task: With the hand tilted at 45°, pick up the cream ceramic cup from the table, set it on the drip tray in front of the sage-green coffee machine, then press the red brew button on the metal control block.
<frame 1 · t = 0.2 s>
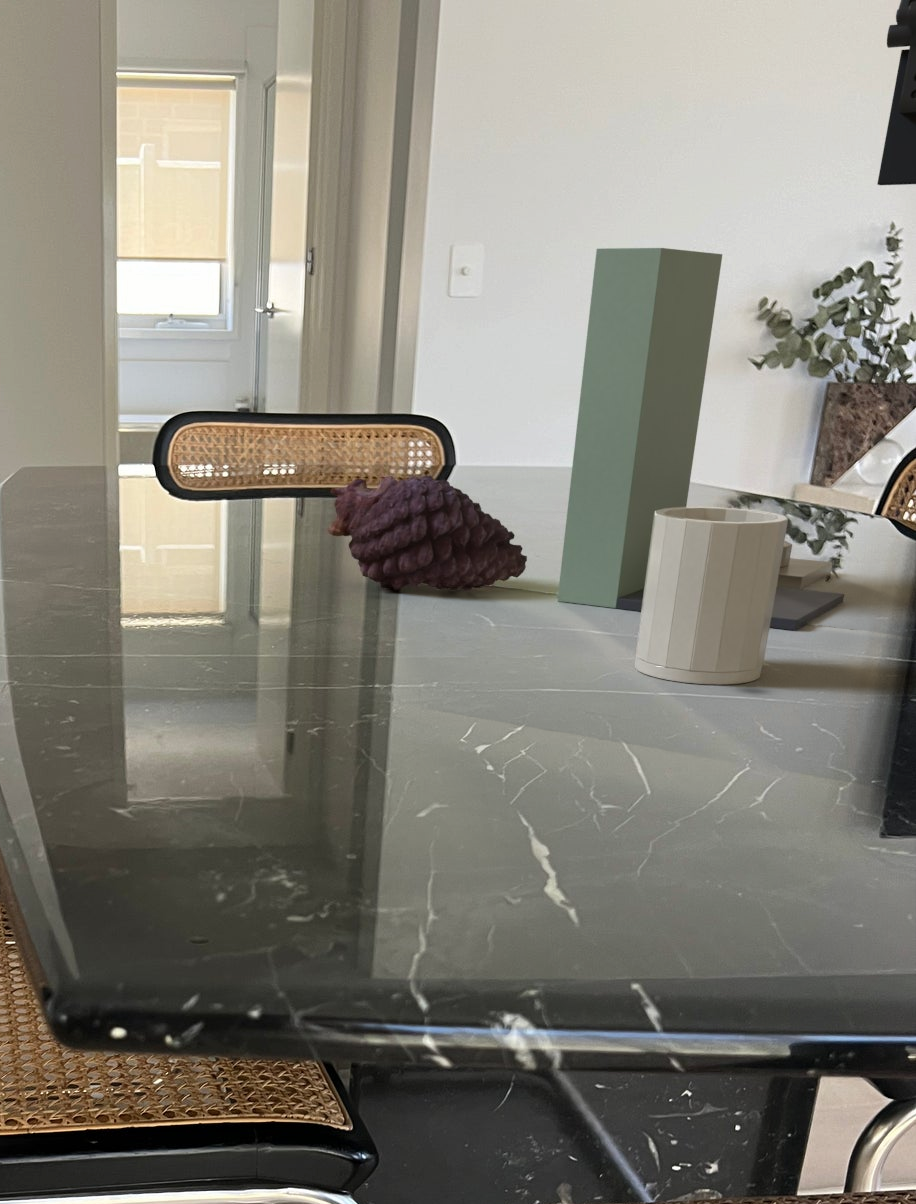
pine cone: (420, 590, 125), on the table
cup: (696, 670, 97), on the table
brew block: (747, 575, 132), on the table
coffee machine: (688, 601, 121), on the table
brew button: (753, 535, 131), point 4 cm above the table, slide at 0.2 cm
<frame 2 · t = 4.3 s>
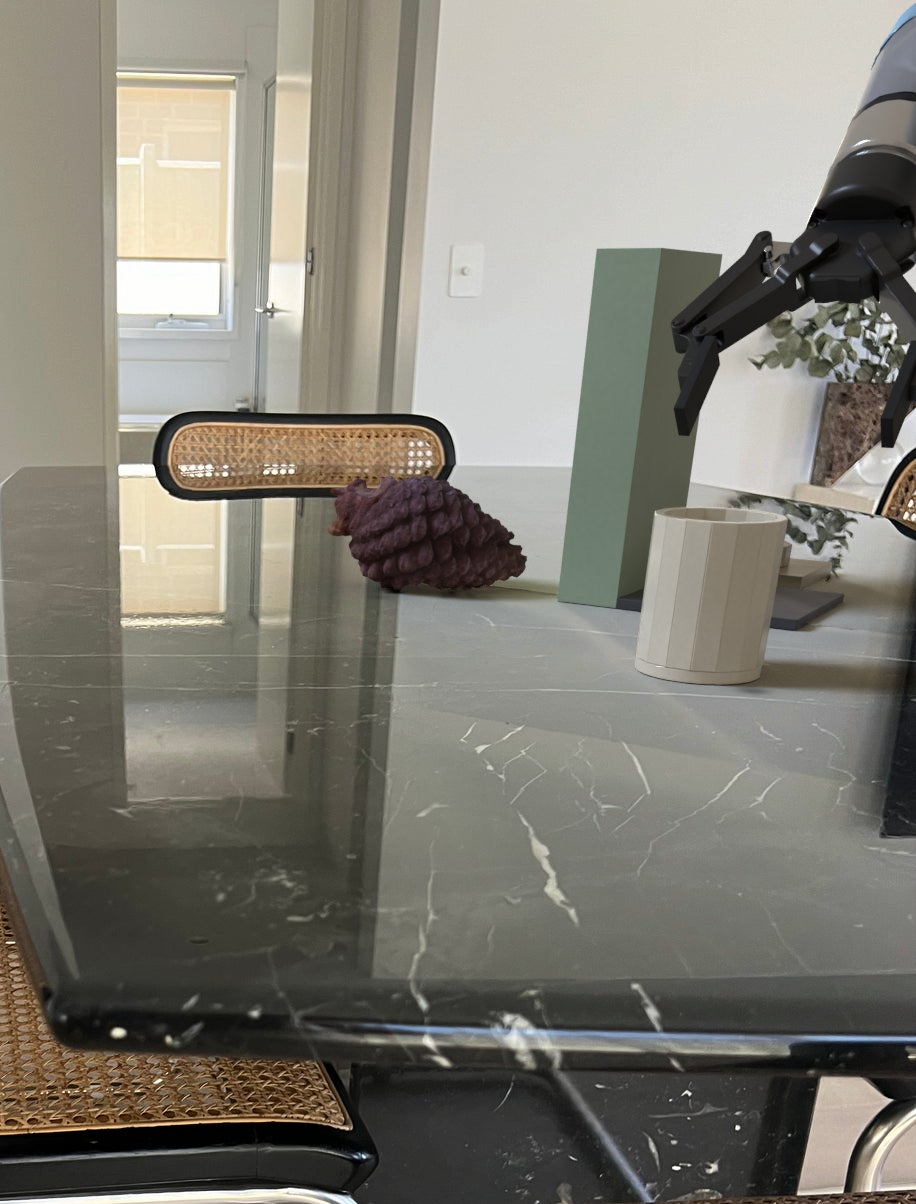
hand: (780, 428, 99), 15 cm above the table, tool tilted 45°, fingers open, 13 cm apart
nothing on the table moved.
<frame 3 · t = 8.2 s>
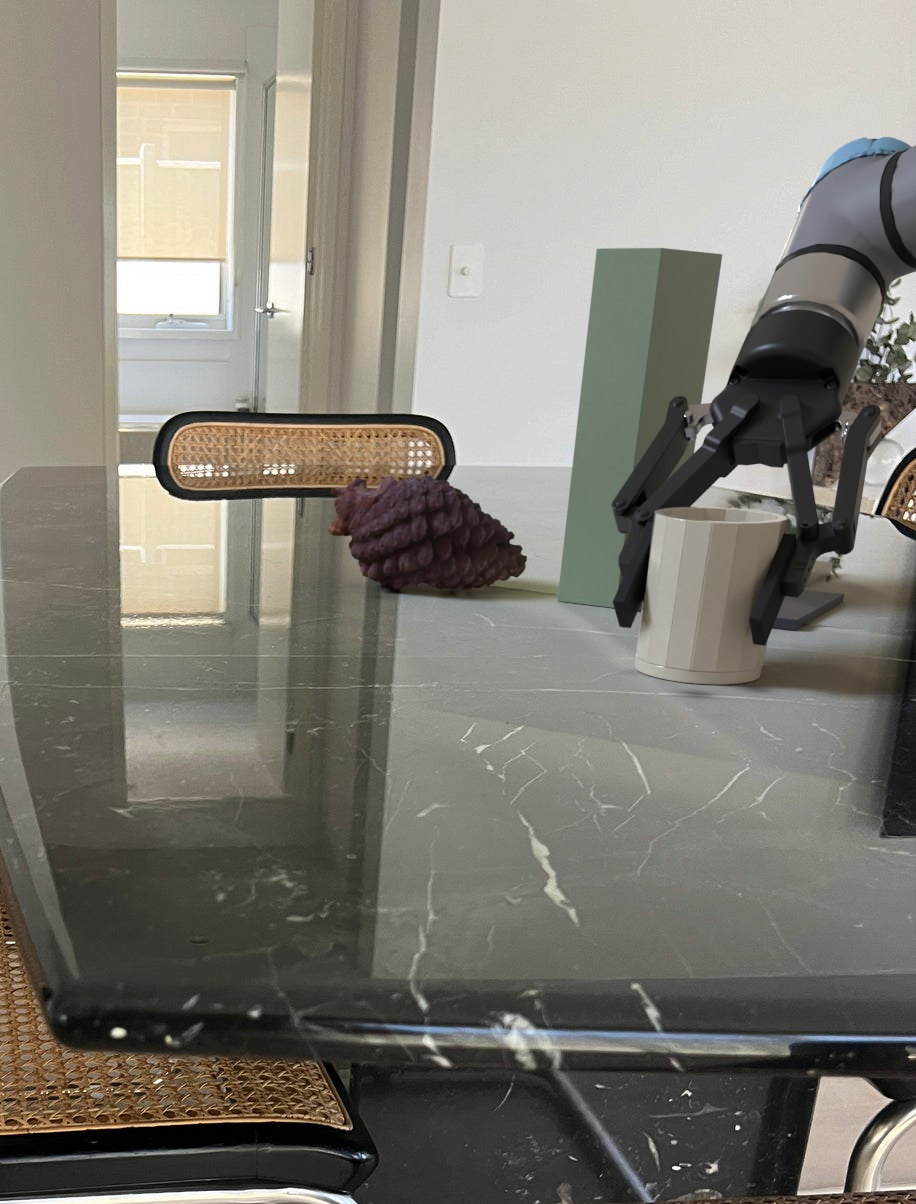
hand: (688, 623, 93), 4 cm above the table, tool tilted 45°, fingers closed on cup, 8 cm apart
cup: (696, 670, 97), on the table, touching gripper
everything else where it was.
when the fingers open (4 cm above the table, at t = 18.0 s): cup stays where it is, resting on coffee machine.
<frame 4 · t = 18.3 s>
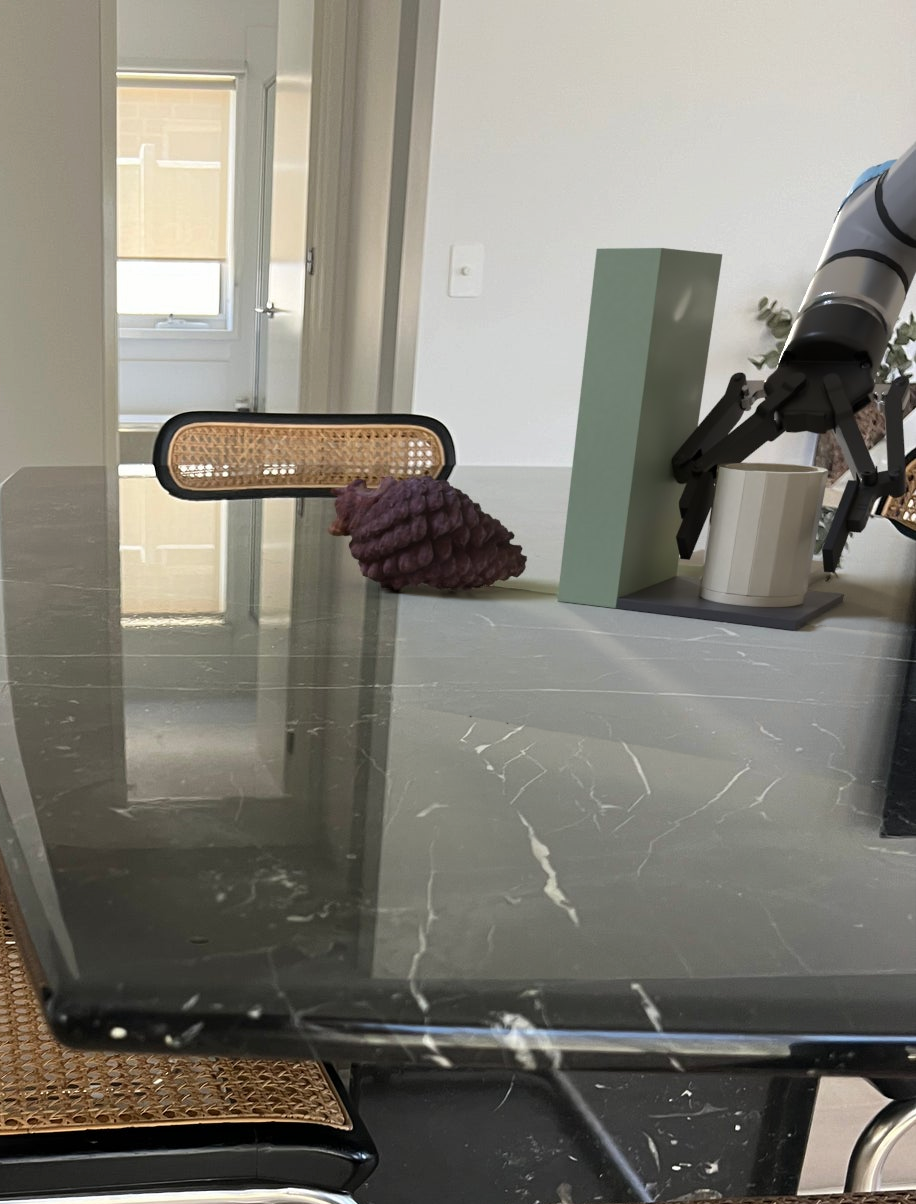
hand: (753, 554, 113), 5 cm above the table, tool tilted 45°, fingers open, 10 cm apart
cup: (750, 598, 118), point 1 cm above the table, touching coffee machine
everything else where it was.
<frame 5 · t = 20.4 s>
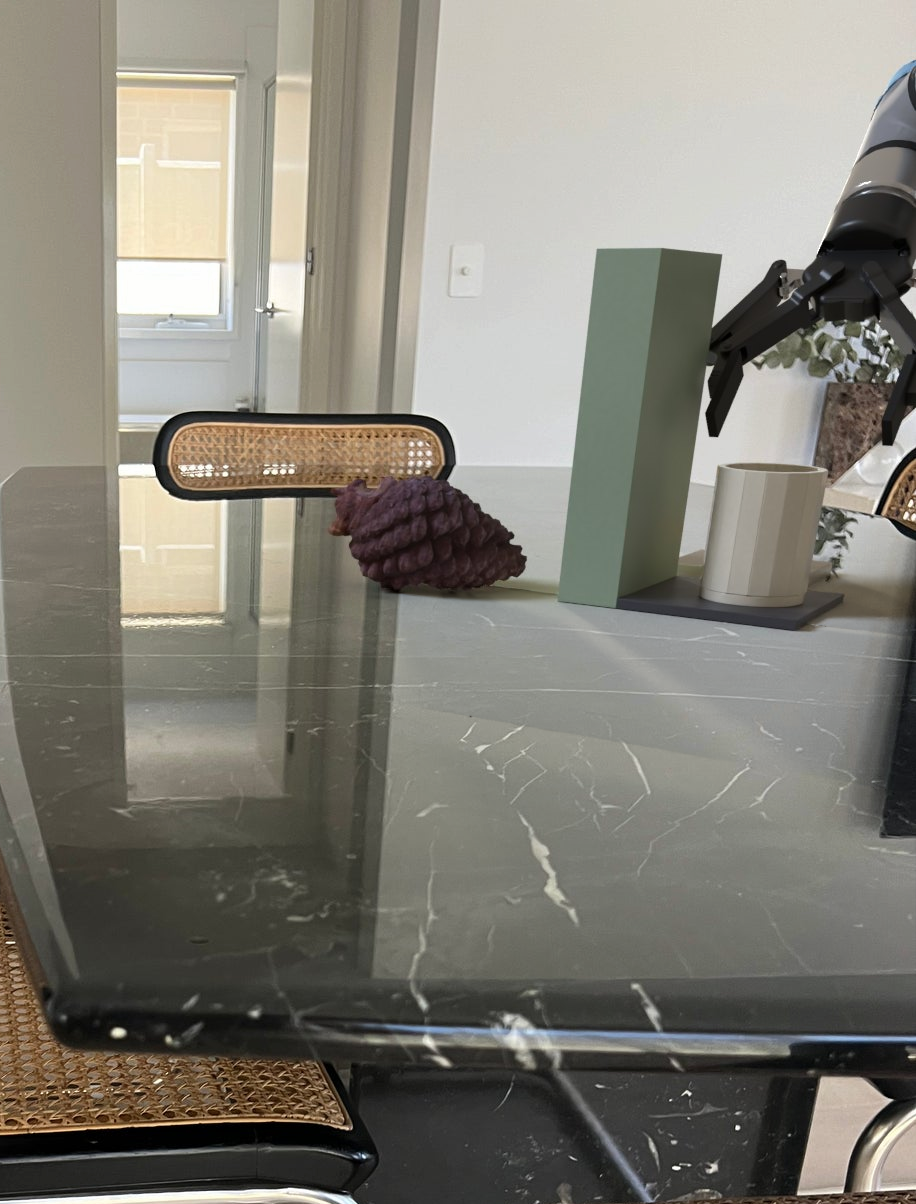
hand: (796, 429, 115), 13 cm above the table, tool tilted 45°, fingers open, 13 cm apart
nothing on the table moved.
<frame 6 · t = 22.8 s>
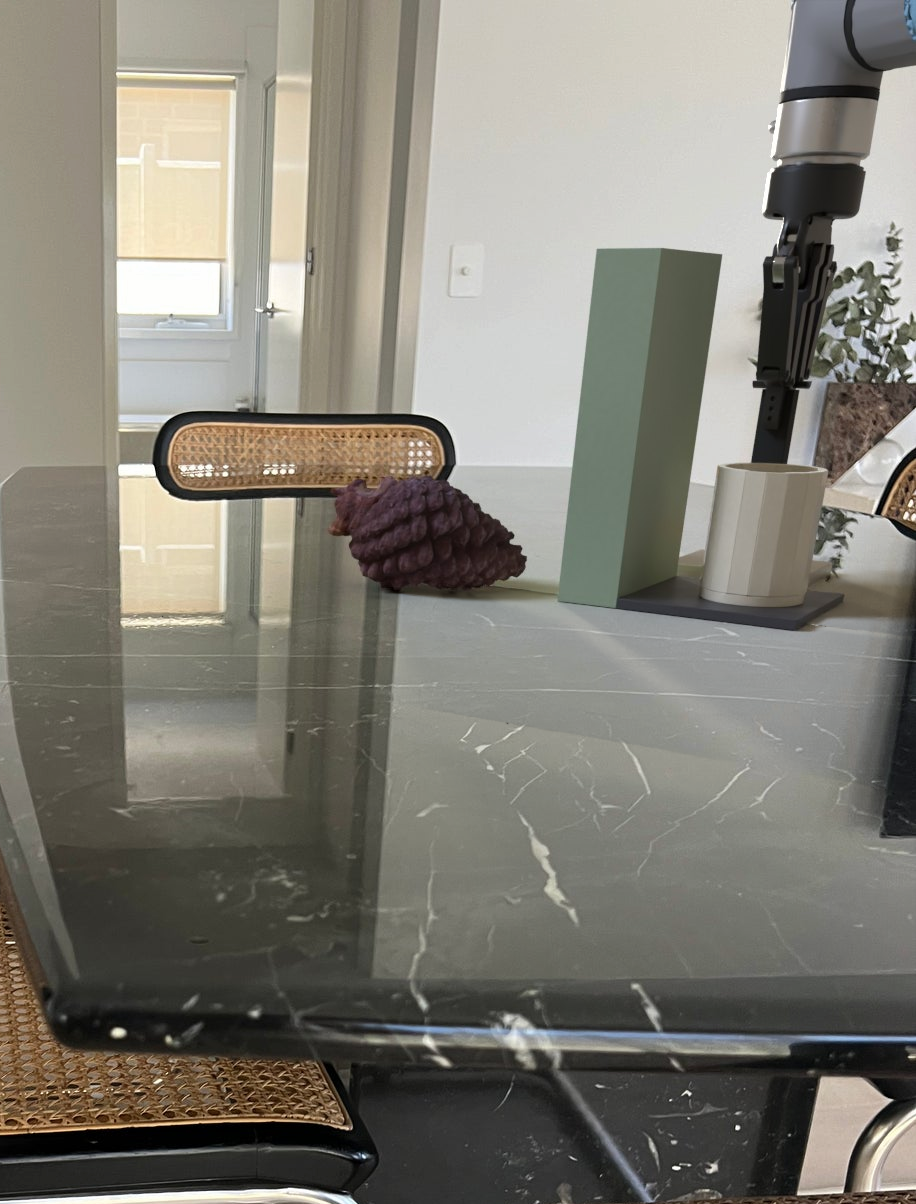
hand: (768, 468, 129), 9 cm above the table, tool pointing down, fingers closed
nothing on the table moved.
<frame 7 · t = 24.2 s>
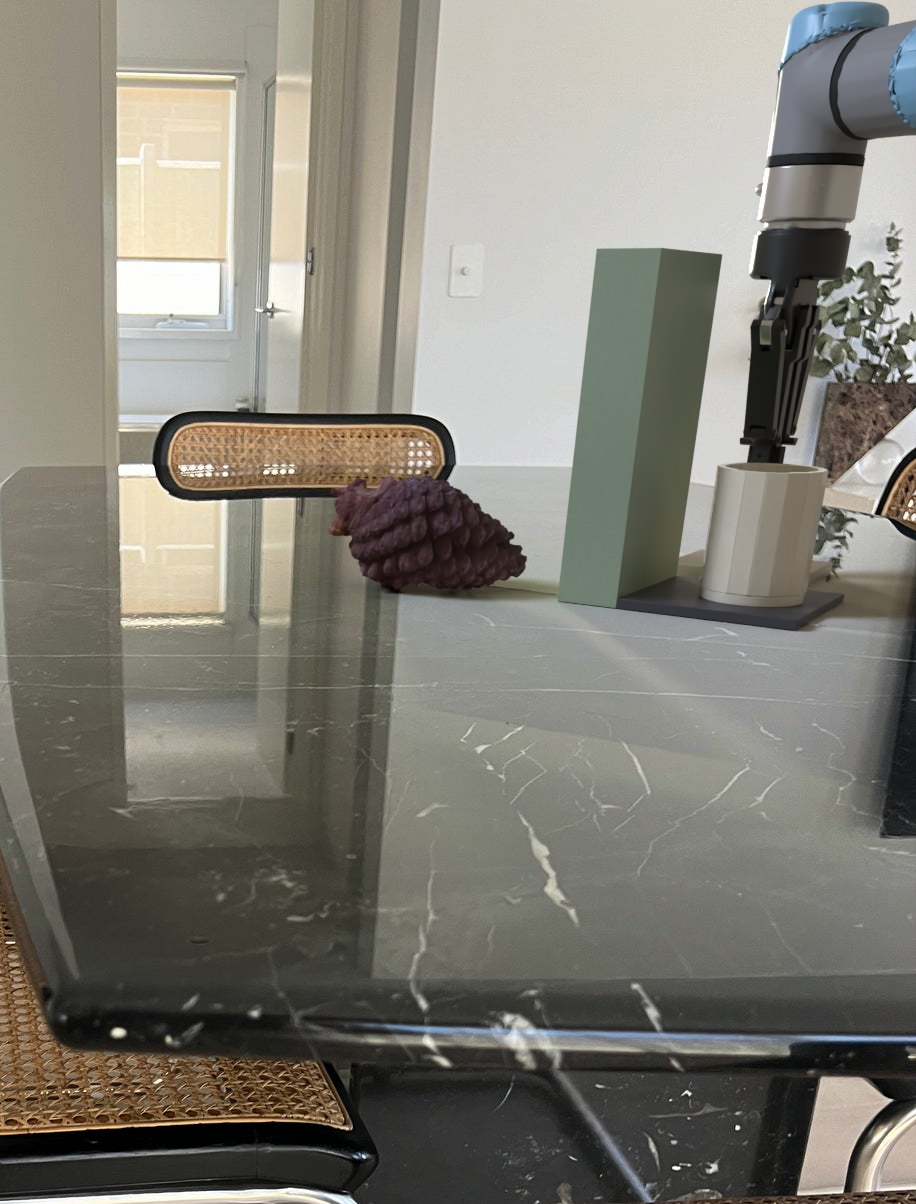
hand: (755, 522, 131), 5 cm above the table, tool pointing down, fingers closed
brew button: (753, 535, 131), point 4 cm above the table, slide at 0.1 cm, touching gripper
everything else where it was.
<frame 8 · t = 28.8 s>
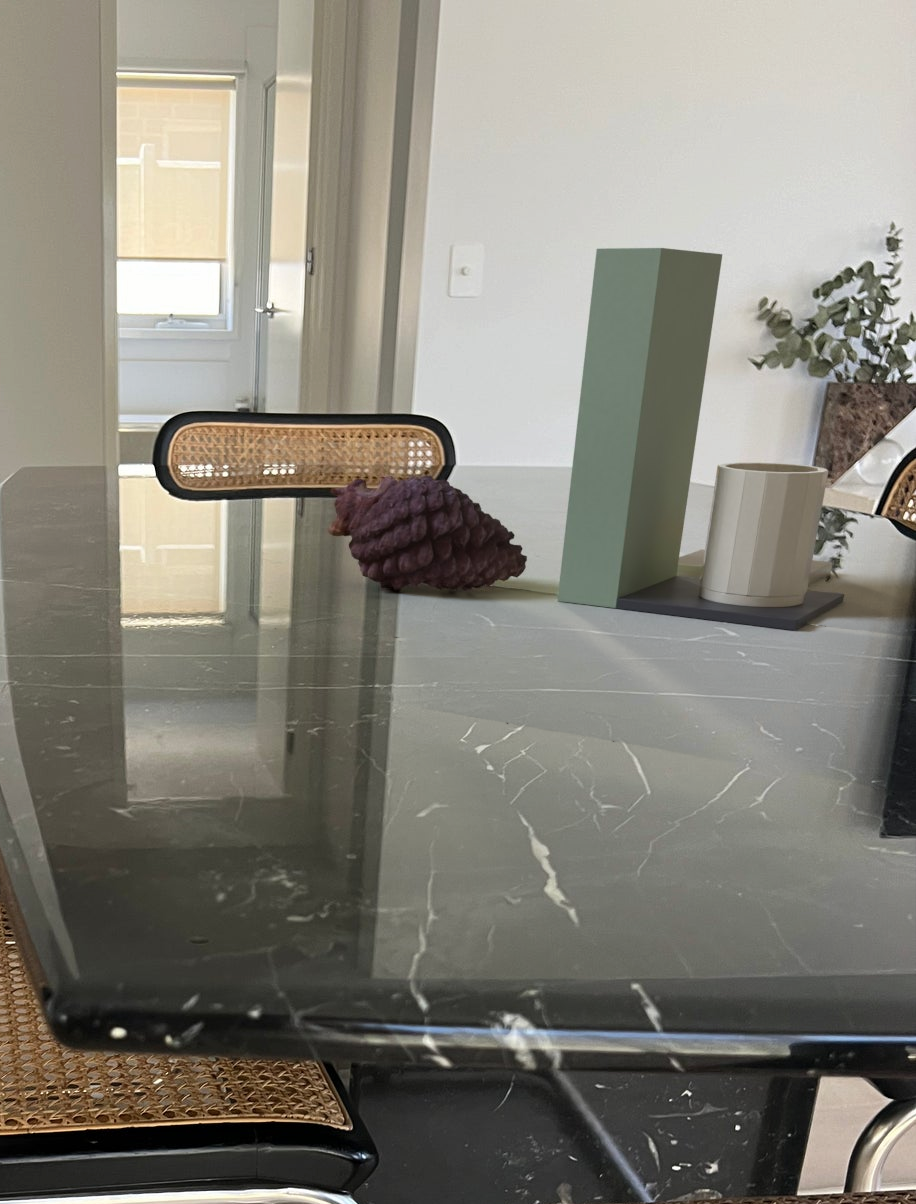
brew button: (753, 535, 131), point 4 cm above the table, slide at 0.2 cm
everything else where it was.
at the end: cup inside the target area on the coffee machine (0.0 cm from its centre), point 0.8 cm above the coffee machine's base; cup tilted 0°; brew button pushed in 1.0 cm at the most during the clip, back to 0.2 cm at the end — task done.
